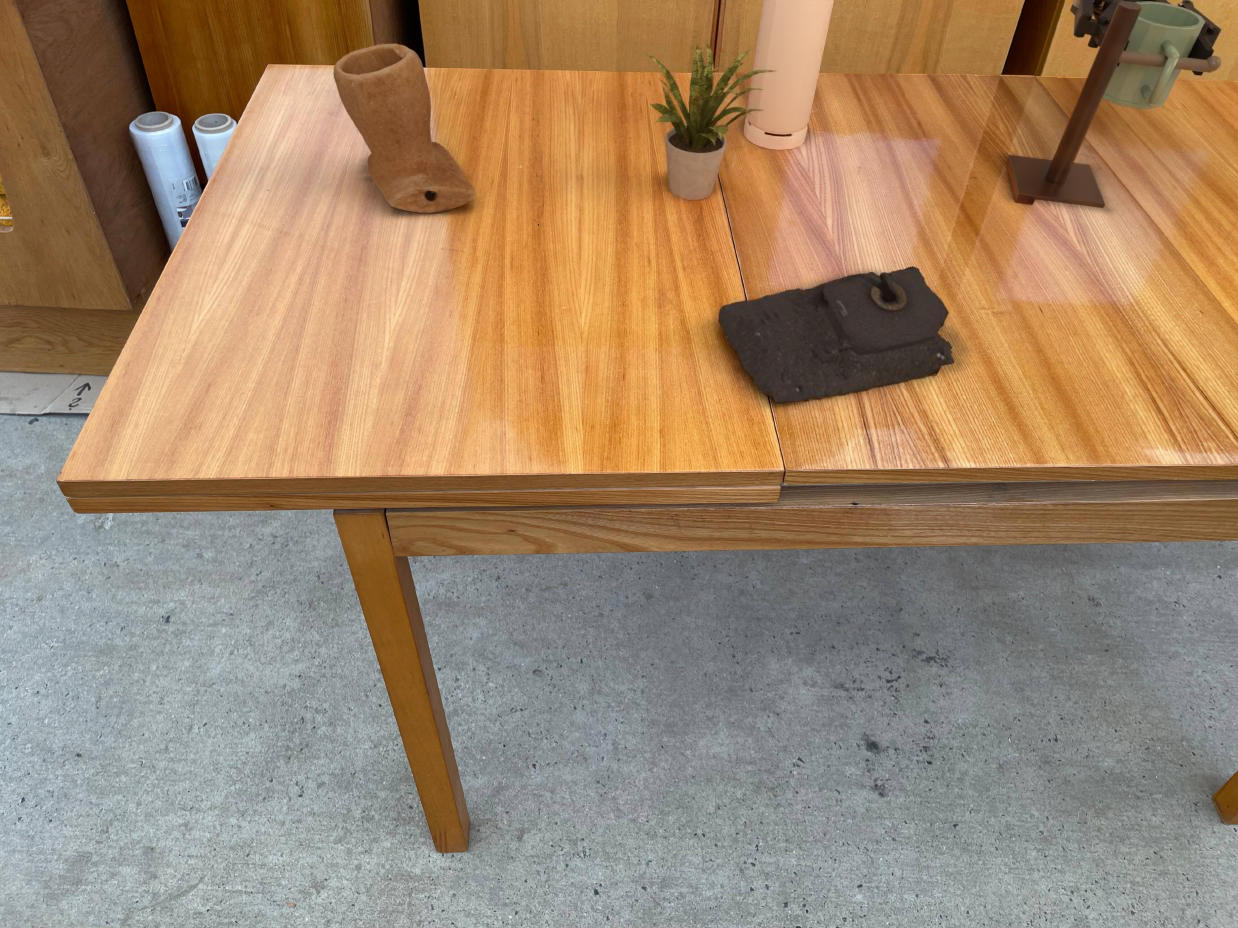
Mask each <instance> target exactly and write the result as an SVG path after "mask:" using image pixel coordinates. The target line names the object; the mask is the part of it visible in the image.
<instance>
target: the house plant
mask: <svg viewBox="0 0 1238 928" xmlns="http://www.w3.org/2000/svg"><path fill="white" fill-rule="evenodd" d="M692 48H693V50H694V53H693V60H692V68H691V75H690V81H689V82H690V83H689V96H688V108H687V106H686V103H685V101H684V99H683V97H682V94H681V91H680V89H679V86H678V83H677V82H676V80H675V78H674V76H673V75H672V73H671V71H670V70H669V69H668V68H667V67H666V66H665V65H664V64H663V63H662V62H661V61H659V59H658V58H656V57H655V56H653V55H651V54H648V53H646V56H648V57H649V58H650V60H652V61H653V62H654V64H655V65H656V66H657V67H658V69H659V70H660V72H661V73H662V75H663V76H664V78H665V80H666V82H667V83H666V82H665V81H664V80H662V79H661V78H657V79H658V80H659V81H660V82H661V83H662V84H663V85H664V86H665V87H666V88H665V87H663V86H662V91H663V94H664V100H665V103H666V105H664V104H662V103H651V104H650V106H651V107H652V108H653V109H654V110H655V111H657V112H659V114H661V115H660V117H659V118H658V119H657V120H656V122H655V123H654V125H656V124H657V123H670V124H671V125H672V127H673V128H671V129H669V130H668V131H667V133H666V134H665V137H664V140H665V152H666V153H665V155H666V167H667V168H666V169H667V181H668V189H669V192H670V193H671V194H672V195H674V196H676V197H678V198H680V199H682V200H688V201H699V200H703V199H706V198H709V197H710V196H711V195H712V194H713V190H714V187H715V183H716V180H717V177H718V174H719V171H720V168H721V164H722V162H723V158H724V154H725V151H726V148H727V145H728V139H727V138H726V136H725V135H726V133H727V132H728V131H729V126H730V125H731V124H732V123H734V122H735V121H737V120H738V119H740V118H741V117H743V116H745V115H747V113H749V112H752V111H763V110H760V109H749V110H747V108H746V109H745V108H744V107H741V106H732V107H730V106H731V104H733V103H734V102H735V100H737V99H738V98H740V97H741V96H742V95H745V94H747V93H748V92H749V93H750V91H751V90H763V89H760V88H750V87H748V88H745V89H743V90H741V91H739V92H737V91H736V90H735V88H737V87H738V86H739V85H740V84H742V83H743V82H744V81H746V80H748V79H750V78H752V76H754V75H756V74H759V73H766V72H774V70H755V71H753V70H752V71H749V72H747V73H745V74H743V75H741V76H740V77H738V78H737V79H736V80H735V81H734V82H732V84H731V82H730V81H731V80H732V78H733V77H734V75H735V74H736V72H737V70H738V69H739V68H740V67H741V66H742V65H743V64H744V62H743V59H744V58H745V57H746V56H747V55H748V54H749V52H750V49H748V50H746V51H744V52H742V53H741V54H740V55H738V56H737V57H736V58H734V60H733V61H732V62H731V63H730V64H729V66H728V67H727V68H726V70H725V71H724V72H723V74H722V75H721V77H720V79H719V80H718V81H717V83H716V86H715V88H714V72H715V71H717V70H718V69H719V68H721V67H722V66H723V65H724V64H721V65H720V66H718V67H716V68H714V58H713V52H712V48H711V46H710V44H709V40H708V39H707V40H706V63H705V60H704V57H703V49H702V47H701V46H700V42H698V43H697V44H696V47H692ZM778 72H779V71H778ZM729 82H730V83H729ZM729 85H730V86H729ZM727 87H728V89H727V90H726V88H727ZM667 89H668V90H669V92H668V90H667ZM713 89H714V90H713ZM670 94H671V95H670ZM730 94H732V95H735V96H734V97H733V98H732V99H730V100H729V102H728V103H727V104H726V106H724V107H723V109H722V110H721V111H720V112H719V113H718V114H717V115H716V113H717V111H718V109H719V108H720V106H721V105H722V104H723V102H724V100H725V98H727V97H728V96H729V95H730ZM671 96H673V98H674V100H675V102H676V103H677V105H678V107H679V110H680V113H681V114H680V113H679V111H678V108H677V106H676V105H675V103H674V101H673V99H672V98H671ZM733 113H734V114H735V113H737V114H736V115H735V116H733V117H732V118H731V119H730V120H729V121H728V122H726V123H724V124H719V125H717V123H718V122H719V121H721V120H722V119H723V118H725V117H726V116H728V115H730V114H733ZM749 114H750V113H749ZM681 115H682V116H681ZM715 115H716V116H715ZM751 115H752V114H751ZM683 119H684V120H683ZM684 121H685V122H684ZM685 123H686V124H685Z"/></svg>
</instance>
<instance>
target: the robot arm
mask: <svg viewBox="0 0 1238 928" xmlns="http://www.w3.org/2000/svg"><path fill="white" fill-rule="evenodd" d="M1122 1H1129V2H1143V1H1151V2H1161V3H1167V4H1171V2H1169V1H1168V0H1073V2H1072V4H1071V6H1070V9H1069V11H1070V12H1071V13H1072V15H1073V16H1074V22H1073V36H1074V37H1075V38H1078V39H1080V38H1085V37H1086V36H1085V35H1087V36H1090V38H1089V40H1088V44H1087V47H1088V48H1091V49H1099V48H1100V46H1101V43H1102V41H1103V39H1104V36H1105V34H1106V32H1107V29H1108V27H1109V24H1110V22H1111V20H1112V17H1113V15H1114V13H1115V10H1116V8H1117V6H1118V3H1119V2H1122ZM1176 6H1180V7H1183V8H1185V9H1188V10H1191V11H1193V12H1195V13H1196V14H1198V15H1200V16H1201V17H1202V18H1203V19H1204V21H1205V23H1204V25H1203V27H1202V29H1201V31H1200V33H1199V35H1198V37H1197V39H1196V41H1195V43H1194V45H1193V47H1192V49H1191V51H1190V53H1189V55H1188V57H1187V58H1194V59H1202V60H1206V59H1207V58H1209V57H1211V56H1213V54H1214V53H1215V50H1214V48H1213V47H1214V46H1215V44H1216V41H1217V40H1218V38H1219V36H1220V34H1221V31H1222V28H1221V27H1219V26H1218V25H1217V24H1215V22H1213V21H1212V20H1210V18H1208V17H1207V16H1206V15H1205V14H1203V13H1202V12H1201V11H1199V10H1198V9H1197V8H1196V7H1195V4H1194V2H1193V1H1191V0H1182V1H1181V2H1178V4H1177V5H1176ZM1129 42H1130V41H1129V39H1128V41H1127V43H1126V46H1125V48H1124V50H1123V51H1126V49H1127V46H1128V44H1129ZM1119 64H1120V62H1118V64H1117V66H1119ZM1191 72H1192V73H1193V75H1194V76H1199V77H1202V76H1203V74H1204V72H1199V71H1191Z"/></svg>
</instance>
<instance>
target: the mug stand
mask: <svg viewBox="0 0 1238 928" xmlns="http://www.w3.org/2000/svg"><path fill="white" fill-rule="evenodd" d="M1141 10H1142V6H1141V5H1139V4H1137V3H1134V2H1129V1H1122V2H1119V3H1118V6H1117V8H1116V10H1115V13H1114V15H1113V17H1112V20H1111V22H1110V24H1109V27H1108V29H1107V32H1106V34H1105V36H1104V39H1103V41H1102V43H1101V46H1100V47H1098V51H1097V53H1096V55H1095V58H1094V60H1093V63H1092V65H1091V67H1090V69H1089V72H1088V74H1087V76H1086V79H1085V82H1084V84H1083V87H1082V89H1081V91H1080V93H1079V96H1078V98H1077V100H1076V103H1075V105H1074V106H1073V107H1074V108H1073V109H1072V112H1071V114H1070V117H1069V119H1068V122H1067V123H1066V127H1065V129H1064V131H1063V133H1062V135H1061V138H1060V140H1059V143H1058V145H1057V147H1056V150H1055V153H1054V154H1053V157H1052V159H1045V158H1039V157H1030V156H1023V155H1014V154H1008V156H1007V159H1006V161H1005V167H1006V170H1007V174H1008V179H1009V182H1010V186H1011V190H1012V194H1013V199H1014V202H1015V203H1018V204H1027V205H1034V203H1035V201H1036V200H1038V201H1045V202H1053V203H1061V204H1069V205H1077V206H1084V207H1091V208H1100V209H1104V208H1105V206H1106V203H1105V200H1104V197H1103V195H1102V193H1101V191H1100V188H1099V185H1098V183H1097V179H1096V177H1095V175H1094V172H1093V169H1092V167H1091V165H1090V164H1086V163H1078V162H1075V161H1076V158H1077V156H1078V154H1079V152H1080V150H1081V147H1082V145H1083V143H1084V141H1085V138H1086V136H1087V134H1088V132H1089V129H1090V127H1091V125H1092V123H1093V120H1094V118H1095V116H1096V113H1097V111H1098V109H1099V106H1100V105H1101V102H1102V101H1103V95H1104V93H1105V91H1106V89H1107V86H1108V84H1109V82H1110V80H1111V77H1112V75H1113V73H1114V71H1115V68H1116V66H1117V64H1118V62H1120V63H1129V64H1138V65H1146V66H1155V67H1164V66H1165V64H1166V62H1167V60H1168V58H1167V56H1166V55H1158V54H1149V53H1140V52H1132V51H1123V50H1124V48H1125V46H1126V43H1127V41H1128V39H1129V37H1130V34H1131V32H1132V30H1133V28H1134V25H1135V23H1136V21H1137V19H1138V16H1139V14H1140V12H1141ZM1221 64H1222V59H1221V57H1220V56H1217V55H1212V56H1211V57H1209V58H1207V59H1206V60H1202V59H1194V58H1185V57H1179V59H1178V62H1177V64H1176V66H1175V68H1174V69H1181V71H1190V72H1192V71H1199V72H1203V73H1209V74H1210V73H1213V72H1215V71H1217V70H1218V69H1220V68H1221Z"/></svg>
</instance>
